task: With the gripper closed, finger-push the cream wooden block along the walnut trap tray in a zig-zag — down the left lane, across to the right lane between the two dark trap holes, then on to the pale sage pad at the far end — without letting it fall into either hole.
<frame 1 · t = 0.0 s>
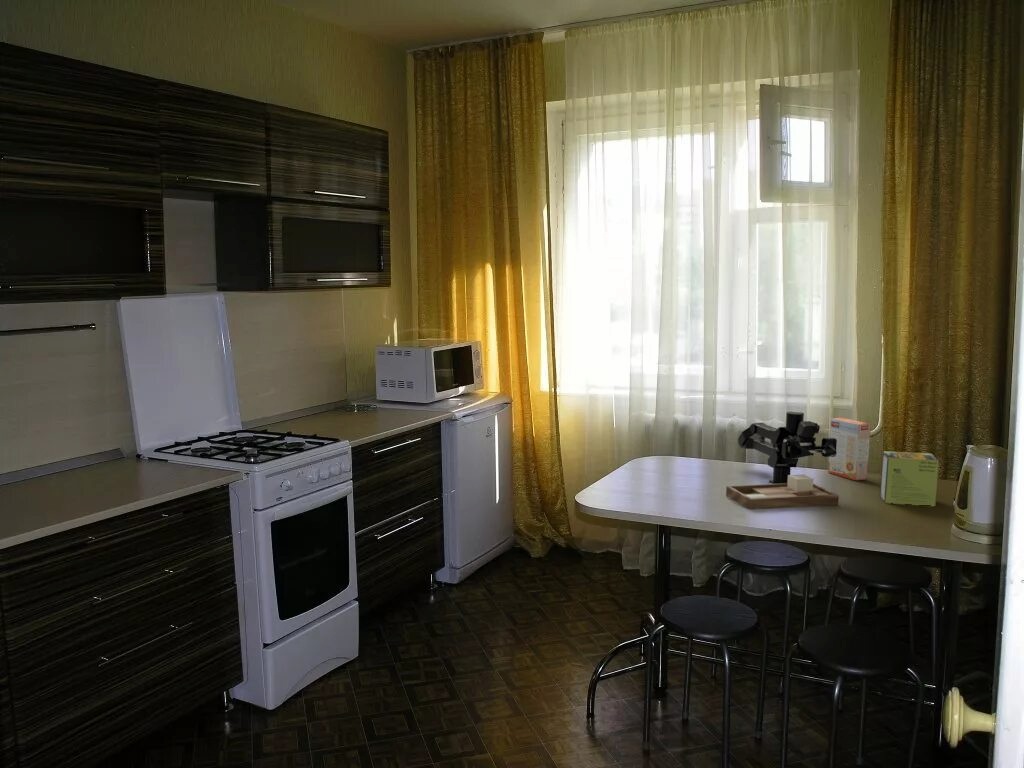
hand: (823, 453, 279), 17 cm above the table, fingers open, 9 cm apart
protein box: (906, 501, 285), on the table
trap tray: (781, 500, 284), on the table
cracker box: (847, 476, 318), on the table
cream block: (800, 488, 290), point 2 cm above the table, touching trap tray
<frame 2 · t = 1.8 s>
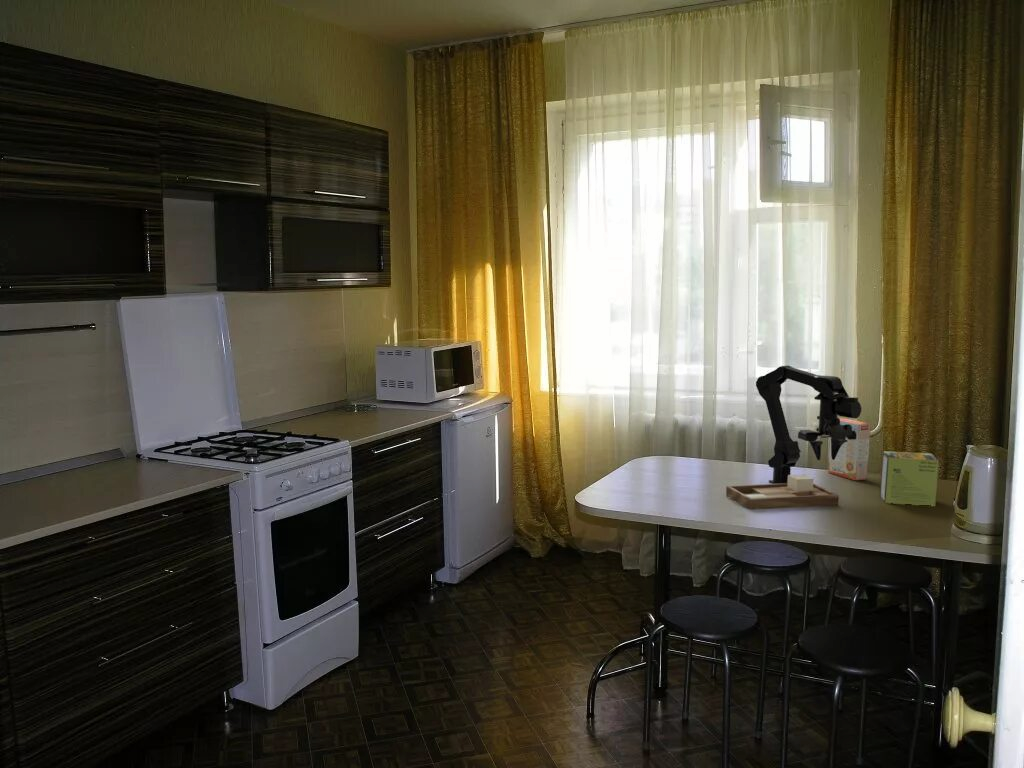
hand: (825, 459, 290), 12 cm above the table, fingers open, 5 cm apart
nothing on the table moved.
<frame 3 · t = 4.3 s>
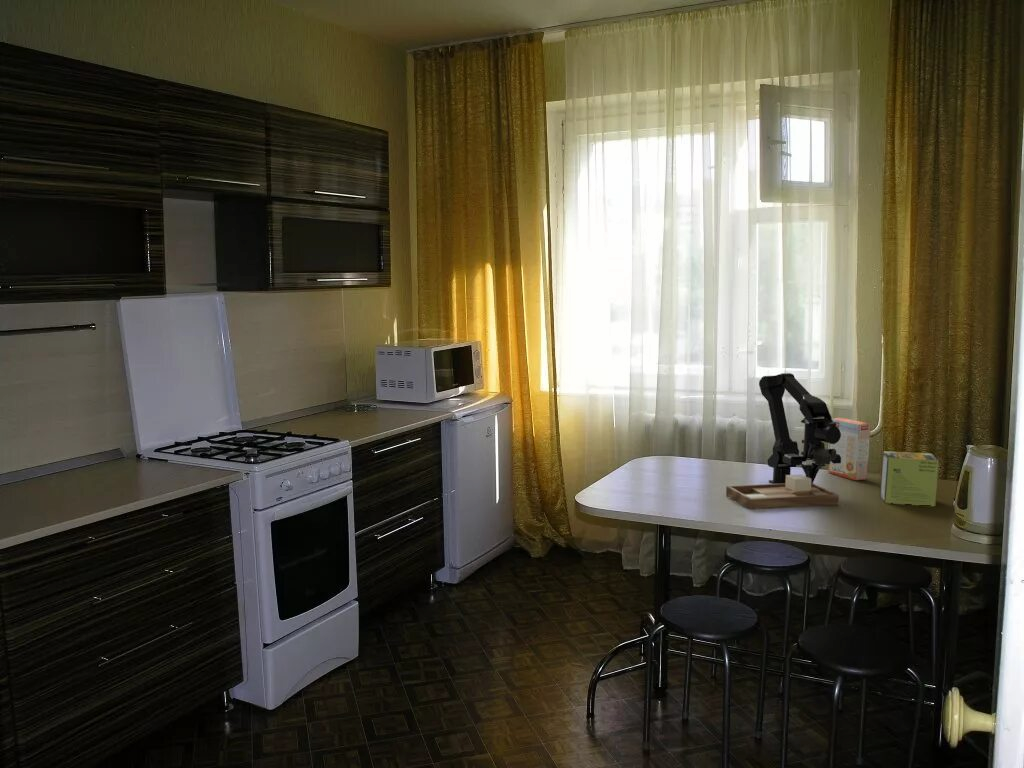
hand: (810, 483, 290), 4 cm above the table, fingers closed
cream block: (797, 488, 289), point 3 cm above the table, touching gripper, trap tray
everything else where it was.
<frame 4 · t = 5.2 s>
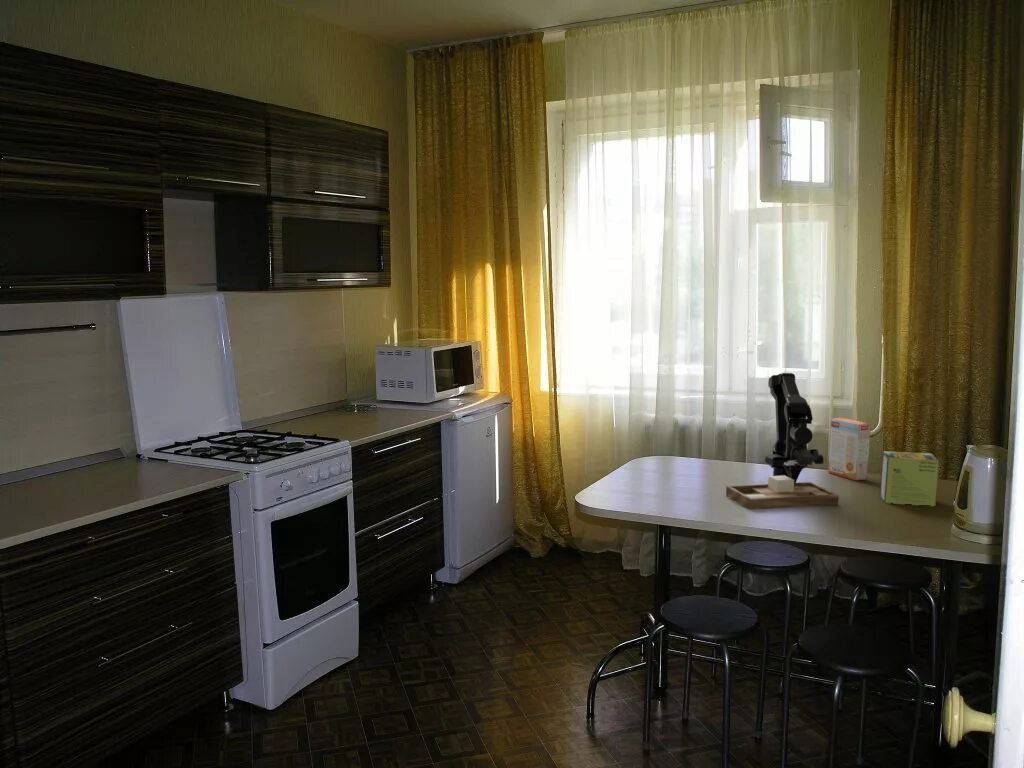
hand: (793, 484, 289), 4 cm above the table, fingers closed
cream block: (780, 489, 288), point 3 cm above the table, touching gripper, trap tray
everything else where it was.
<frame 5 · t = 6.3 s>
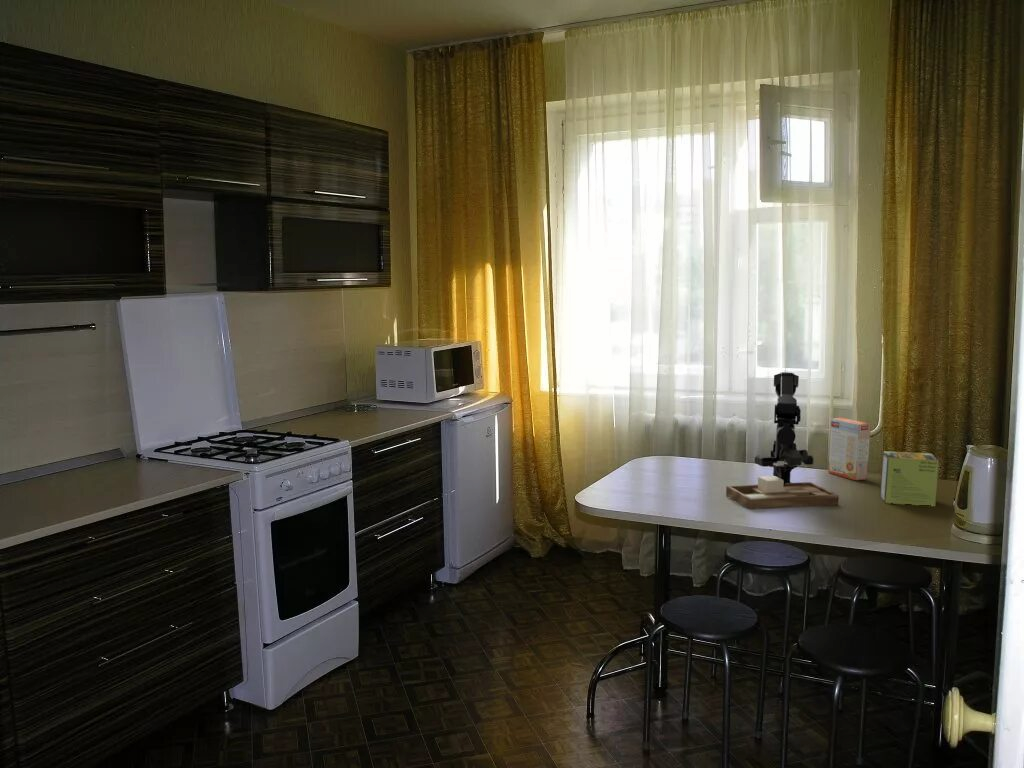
hand: (782, 484, 288), 4 cm above the table, fingers closed
cream block: (770, 490, 287), point 2 cm above the table, touching gripper, trap tray
everything else where it was.
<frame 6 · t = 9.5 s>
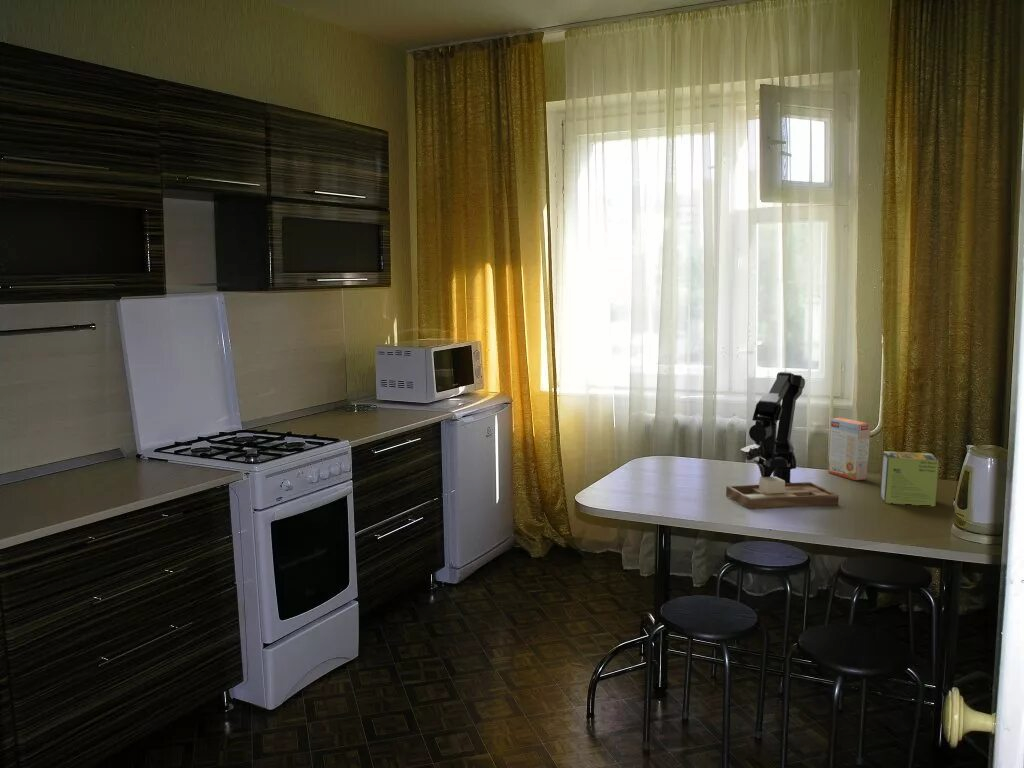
hand: (764, 482, 290), 4 cm above the table, fingers closed
cream block: (771, 490, 286), point 3 cm above the table, touching gripper
everything else where it was.
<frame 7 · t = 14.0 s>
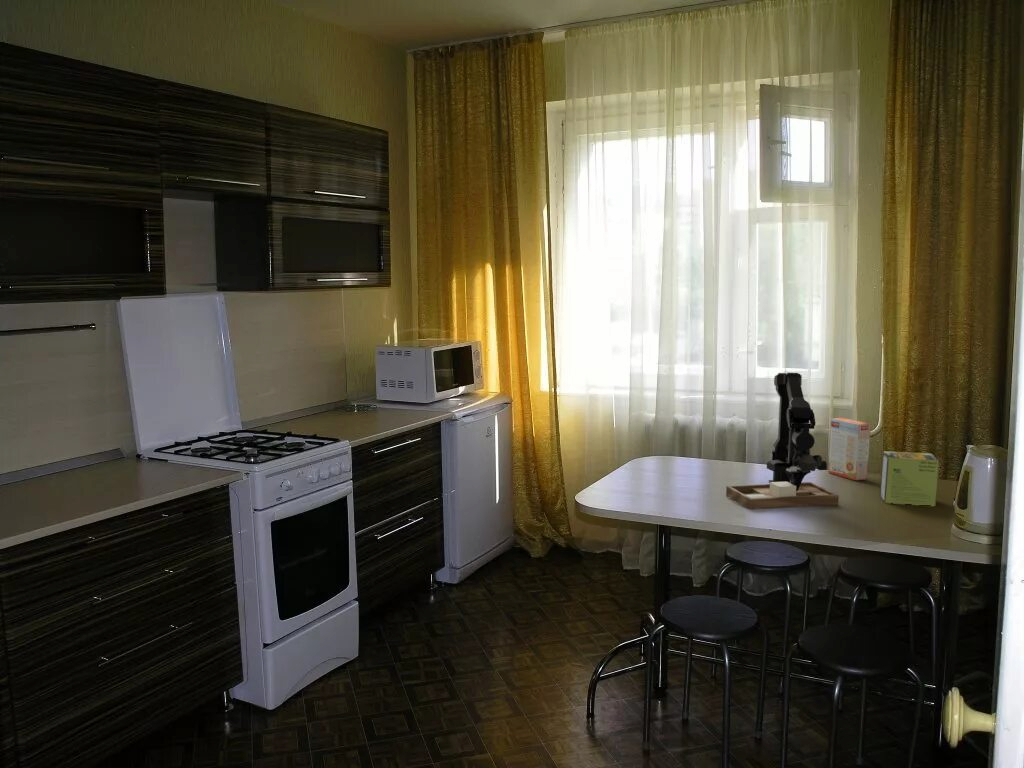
hand: (795, 490, 280), 4 cm above the table, fingers closed
cream block: (782, 496, 280), point 3 cm above the table, touching gripper
everything else where it was.
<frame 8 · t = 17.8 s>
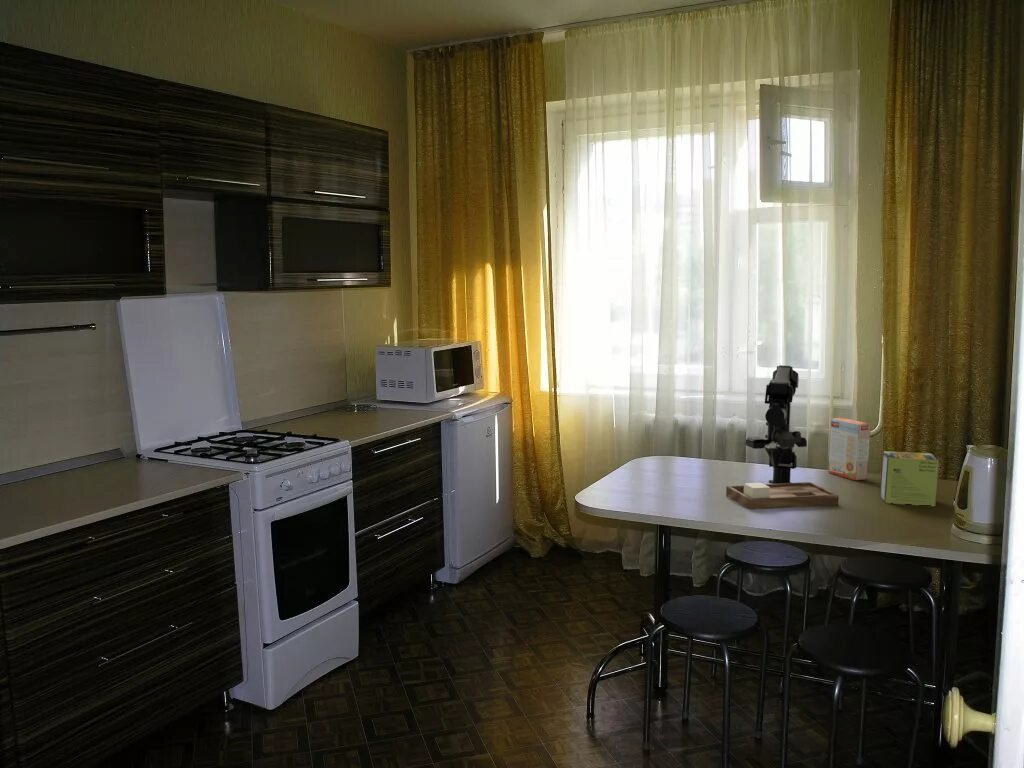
hand: (775, 468, 278), 12 cm above the table, fingers closed
cream block: (756, 497, 278), point 2 cm above the table, touching trap tray
everything else where it was.
at the end: cream block inside the target area (0.4 cm from its centre), point 2.5 cm above the table; cream block tilted 0° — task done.
